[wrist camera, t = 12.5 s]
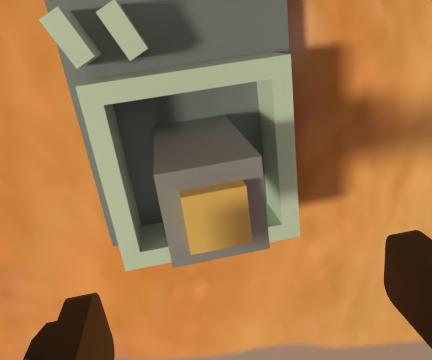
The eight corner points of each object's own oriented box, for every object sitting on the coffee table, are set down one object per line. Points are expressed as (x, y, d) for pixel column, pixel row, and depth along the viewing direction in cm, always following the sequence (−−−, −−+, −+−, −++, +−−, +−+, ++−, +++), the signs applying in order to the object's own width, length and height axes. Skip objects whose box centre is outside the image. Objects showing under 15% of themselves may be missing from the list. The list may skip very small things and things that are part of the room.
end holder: (272, 52, 20) (290, 54, 17) (283, 213, 24) (300, 236, 21) (87, 79, 19) (75, 86, 16) (129, 243, 23) (125, 271, 20)
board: (271, -146, 18) (298, -190, 14) (291, 202, 25) (313, 228, 21) (17, -121, 17) (-19, -163, 13) (115, 236, 24) (108, 269, 20)
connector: (223, 114, 21) (266, 160, 13) (232, 179, 22) (274, 256, 14) (154, 126, 20) (152, 181, 12) (167, 190, 22) (173, 276, 14)
